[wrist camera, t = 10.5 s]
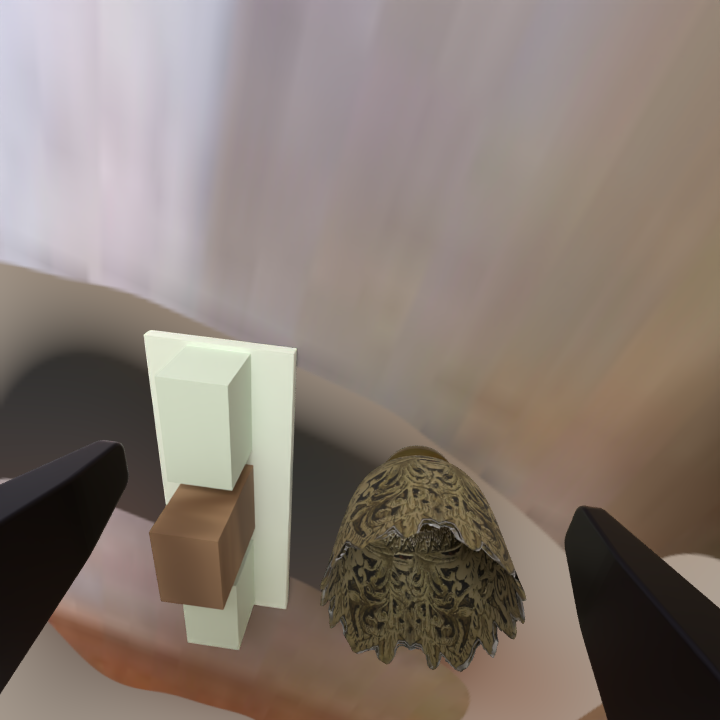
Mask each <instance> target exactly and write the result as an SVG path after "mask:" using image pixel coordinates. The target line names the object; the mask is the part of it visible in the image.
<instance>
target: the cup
mask: <svg viewBox="0 0 720 720" xmlns="http://www.w3.org/2000/svg"><path fill="white" fill-rule="evenodd" d="M320 589H322V590H321V591H322V596H321V603H320V605H321V606H323V605H325V604H326V603H327V601H328V600H330V606H329V609H328V610H329V624H330V628H333V627H334V626H336V624H337V623H338V622H339V621H340V622H341V623H342V626H343V634H344V636H345V638H346V639H347V641H348V643H349V645H350V647H351V649H352V651H353V652H355V653H357V654H359V653H363V652H365V651H369V650H375V651H376V654H377V657H378V659H379V660H381V661H382V662H384V663H385V664H389V663H390V662H391V661H392V660H393V658H394V657H395V654H396V650H397V648H398V647H399V646H405V647H407V648H408V649H409V650H413V649H415V648H416V649H419V648H421V649H422V651H423V653H424V654H425V655H426V659H427V664H428V666H429V668H430V669H432V670H434V669H436V668H437V667H438V666H439V663H440V660H441V656H443V657H444V658H445V659H446V660H447V661H446V660H445V661H446V662H448V663H449V664H450V665H451V666H452V667H453V668H454V669H455V670H457V671H460V672H462V671H463V670H464V669H466V668H467V667H468V666H469V664H470V662H471V661H472V659H473V657H474V654H475V650H476V648H477V647H478V646H479V645H480V644H481V645H482V646H483V649H484V650H486V652H487V653H488V654H489V655H490V656H491V657H493V658H494V656H495V653H496V650H497V645H498V637H497V627H498V628H499V630H500V631H502V630H503V632H504V633H505V634H506V635H507V636H508V637H510V638H511V639H515V637H516V633H517V630H516V621H517V620H519V621H521V622H522V624H524V622H525V615H524V608H523V603H522V601H526V596H525V592H524V590H523V587H522V585H521V583H520V581H519V579H518V576H517V574H516V571H515V569H514V566H513V563H512V560H511V558H510V555H509V552H508V550H507V547H506V545H505V542H504V539H503V536H502V534H501V532H500V529H499V526H498V524H497V522H496V519H495V517H494V514H493V512H492V510H491V508H490V506H489V504H488V502H487V500H486V498H485V497H484V495H483V493H482V492H481V490H480V489H479V487H478V486H477V484H476V483H475V482H474V481H473V480H472V479H471V478H470V477H469V476H468V475H467V474H466V473H465V472H463V471H462V470H461V469H459V468H458V467H456V466H454V465H452V464H450V463H449V462H448V461H447V459H446V458H445V457H444V456H443V455H442V454H440V453H439V452H438V451H436V450H434V449H432V448H429V447H424V446H409V447H405V448H402V449H400V450H398V451H396V452H395V453H394V454H393V455H392V456H390V458H389V459H388V460H387V461H386V463H384V464H382V465H380V466H379V467H377V468H375V469H374V470H373V471H372V472H370V473H369V474H368V475H367V476H366V477H365V479H364V480H363V481H362V482H361V483H360V485H359V486H358V488H357V489H356V491H355V493H354V495H353V496H352V498H351V501H350V503H349V505H348V507H347V510H346V513H345V515H344V518H343V520H342V523H341V527H340V529H339V533H338V535H337V538H336V541H335V544H334V548H333V551H332V554H331V557H330V560H329V563H328V567H327V569H326V572H325V575H324V578H323V580H322V583H321V586H320ZM397 644H404V645H399V646H397ZM396 646H397V648H396ZM417 647H419V648H417ZM395 648H396V649H395ZM421 649H420V650H421Z"/></svg>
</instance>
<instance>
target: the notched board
mask: <svg viewBox="0 0 720 720" xmlns="http://www.w3.org/2000/svg"><path fill="white" fill-rule="evenodd" d="M144 341H145V349H146V357H147V364H148V372H149V379H150V387H151V394H152V401H153V409H154V417H155V425H156V433H157V440H158V448H159V455H160V462H161V470H162V478H163V486H164V494H165V501H166V505H167V504H168V502H169V501H170V499H171V498H172V496H173V494H174V493H175V491H176V490H177V488H178V487H179V485H180V484H188V485H195V486H202V487H209V488H217V489H224V490H231V491H232V490H233V488H234V486H235V484H236V482H237V480H238V478H239V476H240V474H241V472H242V470H243V468H244V466H245V464H248V465H253V469H254V505H255V529H254V532H253V535H252V537H251V540H250V542H249V545H248V548H247V550H246V553H245V555H244V558H243V560H242V563H241V566H240V568H239V571H238V573H237V576H236V579H235V581H234V584H233V586H232V589H231V592H230V594H229V597H228V599H227V602H226V605H225V607H224V610H219V609H212V608H205V607H198V606H191V605H184V604H183V608H184V616H185V624H186V632H187V640H188V642H189V643H195V644H202V645H208V646H215V647H221V648H228V649H234V650H239V649H240V646H241V643H242V640H243V637H244V633H245V630H246V627H247V624H248V621H249V618H250V615H251V612H252V609H253V606H254V605H260V606H267V607H274V608H281V609H286V607H287V603H288V590H289V561H290V558H289V557H290V532H291V503H292V474H293V446H294V418H295V389H296V388H295V387H296V360H297V348H290V347H282V346H274V345H266V344H258V343H250V342H242V341H234V340H226V339H217V338H210V337H201V336H194V335H185V334H178V333H170V332H162V331H154V330H150V331H148V332H147V333H146V334H144Z"/></svg>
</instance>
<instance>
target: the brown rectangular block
mask: <svg viewBox="0 0 720 720" xmlns="http://www.w3.org/2000/svg"><path fill="white" fill-rule="evenodd" d="M254 529H255V505H254V469H253V465H248V464H245V466H244V468H243V470H242V472H241V474H240V476H239V478H238V480H237V482H236V484H235V486H234V488H233V490H232V491H231V490H224V489H217V488H209V487H202V486H195V485H188V484H180V485H179V487H178V488H177V490H176V491H175V493H174V494H173V496H172V498H171V499H170V501H169V502H168V504H167V505H166V507H165V509H164V510H163V512H162V513H161V515H160V516H159V518H158V520H157V521H156V522H155V524H154V525H153V527H152V528H151V530H150V532H149V535H150V541H151V547H152V552H153V558H154V564H155V570H156V575H157V581H158V587H159V593H160V598H161V601H163V602H170V603H177V604H184V605H191V606H198V607H205V608H212V609H219V610H224V607H225V605H226V602H227V599H228V597H229V594H230V592H231V589H232V586H233V584H234V581H235V579H236V576H237V573H238V571H239V568H240V566H241V563H242V560H243V558H244V555H245V553H246V550H247V548H248V545H249V542H250V540H251V537H252V535H253V532H254Z"/></svg>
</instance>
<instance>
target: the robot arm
mask: <svg viewBox="0 0 720 720" xmlns="http://www.w3.org/2000/svg"><path fill="white" fill-rule="evenodd" d="M127 482H128V468H127V462H126V457H125V451H124V447H123V445H122V444H121V443H119V442H113V441H106V440H100V441H97V442H94V443H92V444H90V445H88V446H85V447H83V448H81V449H79V450H76V451H74V452H72V453H70V454H67V455H66V456H63V457H61V458H59V459H56V460H54V461H52V462H50V463H47V464H45V465H43V466H41V467H38V468H36V469H34V470H32V471H29V472H27V473H25V474H23V475H20V476H18V477H16V478H14V479H11V480H9V481H7V482H5V483H2V484H0V694H1V692H2V690H3V689H4V687H5V686H6V684H7V683H8V681H9V680H10V678H11V677H12V675H13V674H14V672H15V670H16V669H17V667H18V666H19V664H20V663H21V661H22V660H23V658H24V657H25V655H26V654H27V652H28V651H29V649H30V647H31V646H32V644H33V643H34V641H35V640H36V638H37V637H38V635H39V634H40V632H41V631H42V629H43V628H44V626H45V624H46V623H47V621H48V620H49V618H50V617H51V615H52V614H53V612H54V611H55V609H56V608H57V606H58V605H59V603H60V601H61V600H62V598H63V597H64V595H65V594H66V592H67V591H68V589H69V588H70V586H71V585H72V583H73V581H74V580H75V578H76V577H77V575H78V574H79V572H80V571H81V569H82V568H83V566H84V564H85V563H86V561H87V560H88V558H89V556H90V555H91V553H92V551H93V549H94V547H95V546H96V544H97V542H98V540H99V538H100V536H101V534H102V532H103V530H104V528H105V526H106V524H107V523H108V521H109V519H110V517H111V515H112V513H113V511H114V509H115V507H116V505H117V503H118V501H119V499H120V497H121V495H122V493H123V491H124V490H125V488H126V485H127ZM565 551H566V557H567V562H568V567H569V572H570V578H571V583H572V588H573V594H574V599H575V604H576V609H577V615H578V619H579V624H580V628H581V632H582V635H583V639H584V643H585V646H586V649H587V653H588V656H589V659H590V663H591V666H592V669H593V672H594V676H595V679H596V683H597V686H598V690H599V692H600V696H601V700H602V703H603V706H604V710H605V713H606V716H607V720H720V608H719V607H717V606H716V605H715V604H714V603H713V602H712V601H710V600H709V599H708V598H707V597H706V596H704V595H703V594H702V593H701V592H700V591H699V590H697V589H696V588H695V587H694V586H693V585H692V584H690V583H689V582H688V581H687V580H686V579H685V578H683V577H682V576H681V575H680V574H679V573H677V572H676V571H675V570H674V569H673V568H672V567H671V566H669V565H668V564H667V563H666V562H665V561H664V560H662V559H661V558H660V557H659V556H658V555H657V554H655V553H654V552H653V551H652V550H651V549H649V548H648V547H647V546H646V545H645V544H644V543H642V542H641V541H640V540H639V539H638V538H637V537H635V536H634V535H633V534H632V533H631V532H630V531H628V530H627V529H626V528H625V527H624V526H623V525H621V524H620V523H619V522H618V521H617V520H616V519H614V518H613V517H612V516H611V515H610V514H609V513H607V512H606V511H605V510H603V509H601V508H597V507H590V506H580V507H578V508H577V510H576V511H575V514H574V516H573V519H572V521H571V523H570V526H569V528H568V531H567V533H566V536H565Z"/></svg>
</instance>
